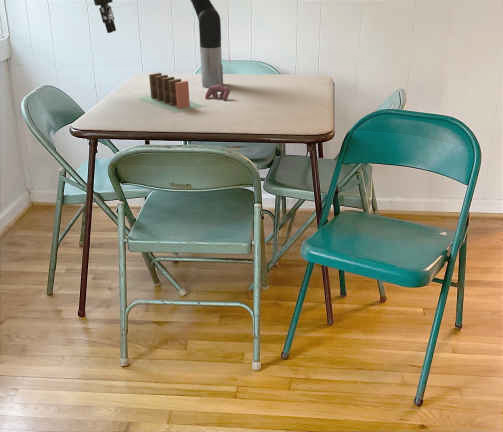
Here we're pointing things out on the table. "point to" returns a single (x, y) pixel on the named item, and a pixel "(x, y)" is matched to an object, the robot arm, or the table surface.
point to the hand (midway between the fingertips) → (112, 31)
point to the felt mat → (168, 106)
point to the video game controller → (218, 88)
